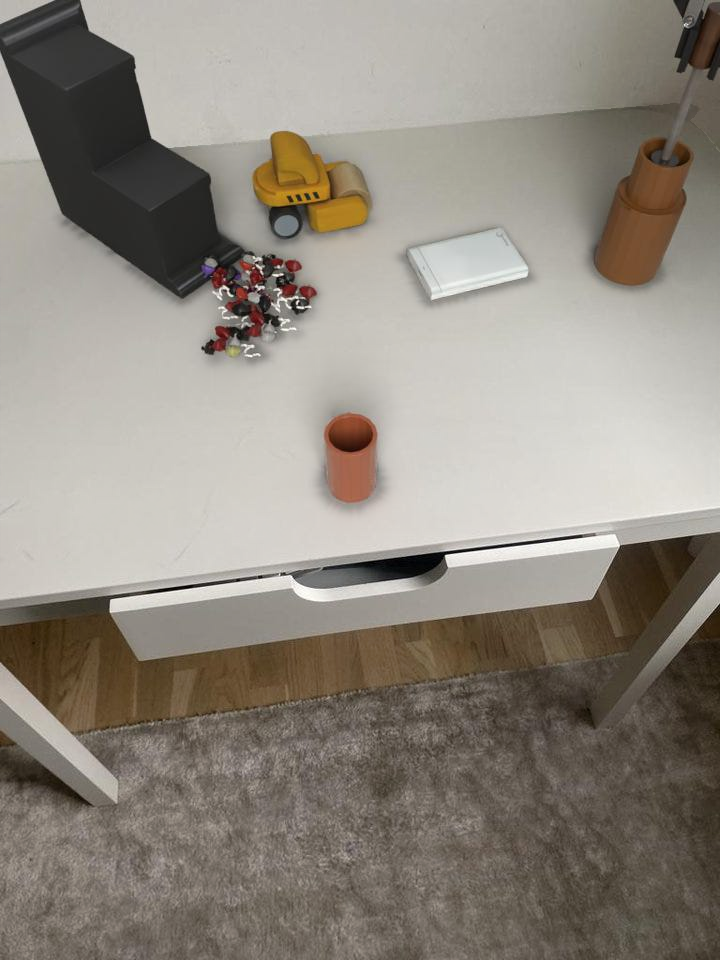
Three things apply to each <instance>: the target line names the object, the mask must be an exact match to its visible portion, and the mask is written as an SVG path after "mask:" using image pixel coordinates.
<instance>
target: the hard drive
mask: <svg viewBox="0 0 720 960" xmlns="http://www.w3.org/2000/svg"><path fill="white" fill-rule="evenodd" d="M406 256H407V260H408V262H409V263H410V265H411V267H412V269H413V271H414V273H415V274H416V276H417V278H418V281H419V282H420V284H421V286H422V288H423V289H424V291H425V293H426V296H427V297H428V299H429V300H430V301H433V300H438V299H440V298H446V297H450V296H453V295H459V294H463V293H467V292H470V291H474V290H478V289H482V288H483V289H484V288H488V287H491V286H495V285H499V284H504V283H507V282H511V281H516V280H520V279H525V278H527V277H528V276H529V272H530V271H529V266H528V265H527V263H526V262H525V260H524V258H523V257H522V256H521V254H520V253H519V251H518V249H517V248H516V247H515V245H514V244H513V242H512V241H511V239H510V238H509V236H508V235H507V233H506V232H505V231H504V229H503V228H502V227H497V228H491V229H489V230H484V231H480V232H475V233H471V234H466V235H462V236H458V237H452V238H448V239H444V240H443V239H442V240H439V241H435V242H431V243H427V244H426V243H425V244H423V245H418V246H414V247H411V248H407V253H406Z"/></svg>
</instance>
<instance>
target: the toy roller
mask: <svg viewBox="0 0 720 960" xmlns="http://www.w3.org/2000/svg"><path fill="white" fill-rule="evenodd" d="M269 138H270V139H269V141H270V150H271V159H269V160H268V161H266V162H263V163H262V164H260V165H259V166H258V167H256V169H255V170H254V171H253V173H252V187H253V193H254V196H255V197H256V198H257V200H258V201H259V202H261V203H262V204H264V205H267V208H268V222H269V226H270V230H271V232H272V234H273V235H274V236H276V238H279V239H282V240H289V239H293V238H294V237H296V236H297V235H298V234H300V232H301V231H302V229H303V226H304V225H303V224H304V223H303V218H302V216H301V213H300V211H299V209H298V206H297V205H300V204H301V205H303V207H304V211H305V214H306V217H307V221H308V224H309V226H310V228H311V229H312V230H314V231H315V232H316V233H319V234H321V233H326V232H332V231H337V230H342V229H346V228H347V229H348V228H352V227H357V226H360V225H363V224H364V223H365V222H366V221H367V218H368V216H369V214H370V213H371V210H372V208H373V199H372V197H371V193H370V191H369V188H368V185H367V182H366V179H365V176H364V173H363V171H362V169H360V167H359V166H357V165H356V164H354V163H350V162H349V161H346V160H341V161H334V162H329V163H324V161H323V158H322V155H321V154H319V153H313V152H312V151H313V150H312V148H311V145H310V144H309V143H308V142H307V140H306V139H305V138H304V137H302V136H301V135H300V134H298V133H296V132H293V131H289V130H280V131H279V130H278V131H274V132H273V133H271V135H270V137H269Z"/></svg>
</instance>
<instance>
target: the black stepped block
mask: <svg viewBox="0 0 720 960" xmlns="http://www.w3.org/2000/svg"><path fill="white" fill-rule="evenodd" d="M0 55H1V57H2V61H3V62H4V66H5V68H6V71H7V74H8V76H9V79H10V82H11V85H12V87H13V89H14V91H15V95H16V97H17V99H18V102H19V105H20V107H21V110H22V113H23V115H24V119H25V121H26V123H27V127H28V128H29V131H30V134H31V136H32V139H33V142H34V145H35V147H36V150H37V152H38V155H39V157H40V160H41V163H42V166H43V168H44V171H45V173H46V176H47V179H48V181H49V183H50V186H51V189H52V191H53V194H54V197H55V199H56V202H57V205H58V208H59V210H60V212H61V214H62V216H64V217H65V218H67V219H68V220H69V221H70V222H72V223H74V224H75V225H76V226H77V227H80V228H81V229H82V230H84V231H85V232H86V233H87V234H89V235H91V236H92V237H93V238H94V239H96V240H98V241H99V242H101V243H102V244H103V245H104V246H105V247H107V248H109V249H110V250H112V251H113V252H114V253H116V254H117V255H119V256H120V257H122V258H123V259H124V260H125V261H127V262H128V263H130V264H131V265H133V266H135V267H136V268H137V269H138V270H140V271H141V272H142V273H144V274H146V275H147V276H148V277H150V278H151V279H153V280H154V281H155V282H156V283H158V284H160V285H161V286H163V287H164V288H166V289H167V290H168V291H169V292H172V293H173V294H174V295H175V296H177V297H178V298H180V299H184V298H186V297H187V296H189V295H190V294H191V293H193V292H195V291H196V290H198V289H199V288H200V287H201V286H203V285H205V284H206V283H207V282H209V281H210V280H212V278H213V273H214V272H213V273H212V274H208V275H207V276H206V278H204V276H205V275H206V273H205V272H204V271H203V270H202V265H204V263H203V260H202V259H203V257H205V256H208V255H215V256H216V257H217V258H218V259H219V260H220V262H221V264H222V269H224V270H227V268H228V267H229V266H230V265H233V264H235V263H236V262H238V261H239V260H241V259H240V254H241V253H243V252H246V251H245V249H244V248H242V246H240V245H239V244H237V243H236V242H235V241H233V240H231V239H230V238H229V237H227V236H225V235H224V234H222V233H221V232H220V231H219V229H218V223H217V218H216V212H215V207H214V202H213V201H214V200H213V195H212V190H211V184H212V175H211V174H210V173H209V172H208V171H206V170H205V169H204V168H201V167H199V166H198V165H196V164H195V163H193V162H191V161H190V160H189V159H186V158H185V157H183V156H181V155H180V154H179V153H177V152H175V151H173V150H172V149H170V148H168V147H167V146H165V145H163V144H162V143H160V142H158V141H157V140H156V139H154V138H153V137H152V134H151V131H150V130H151V129H150V127H149V122H148V118H147V114H146V110H145V105H144V101H143V97H142V93H141V88H140V85H139V82H138V79H137V78H138V77H137V73H136V71H135V70H136V69H137V65H136V58H135V56H134V55H133V54H131V53H130V52H129V51H126V50H125V49H123V48H121V47H120V46H117V45H115V44H114V43H112V42H110V41H108V40H107V39H104V38H103V37H101V36H99V35H97V34H96V33H94V32H92V31H90V28H89V25H88V21H87V19H86V15H85V12H84V9H83V5H82V1H81V0H52V1H49V2H47V3H45V4H43V5H40V6H38V7H36V8H34V9H31V10H29V11H27V12H24V13H22V14H20V15H18V16H15V17H13V18H10V19H8V20H6V21H3V22H1V23H0ZM210 276H212V277H210Z"/></svg>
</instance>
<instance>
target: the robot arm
mask: <svg viewBox="0 0 720 960" xmlns="http://www.w3.org/2000/svg"><path fill="white" fill-rule="evenodd" d="M672 1H673V3H674V5H675V7H676V9H677V11H678V13H679V15H680V17H681V20H682V21H681V24H682V26H683V29H682V32H681V34H680V38H679V41H678V44H677V46H676V50H675V52H674V56H673V58H676V59H679V63H678V66H677V69H676V71H675V72H676V73H678V74H683V73H685V72H686V69H687V68H688V65H689V63H688V62H689V59H690V56H691V53H692V50H693V48H694V45H695V42H696V39H697V36H698V34H699V31H700V28H701V24H702V21H703V18H704V15H705V12H704V10H703V8H704V5H705V3H706V0H672ZM719 68H720V43H719V45H718V48H717V51H716V53H715V56H714V59H713V61H712V64H711V67H710V68H708V72H707V75H706V78H707V80H708V81H714V80H715V78H716V75H717V73H718V70H719Z"/></svg>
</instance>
